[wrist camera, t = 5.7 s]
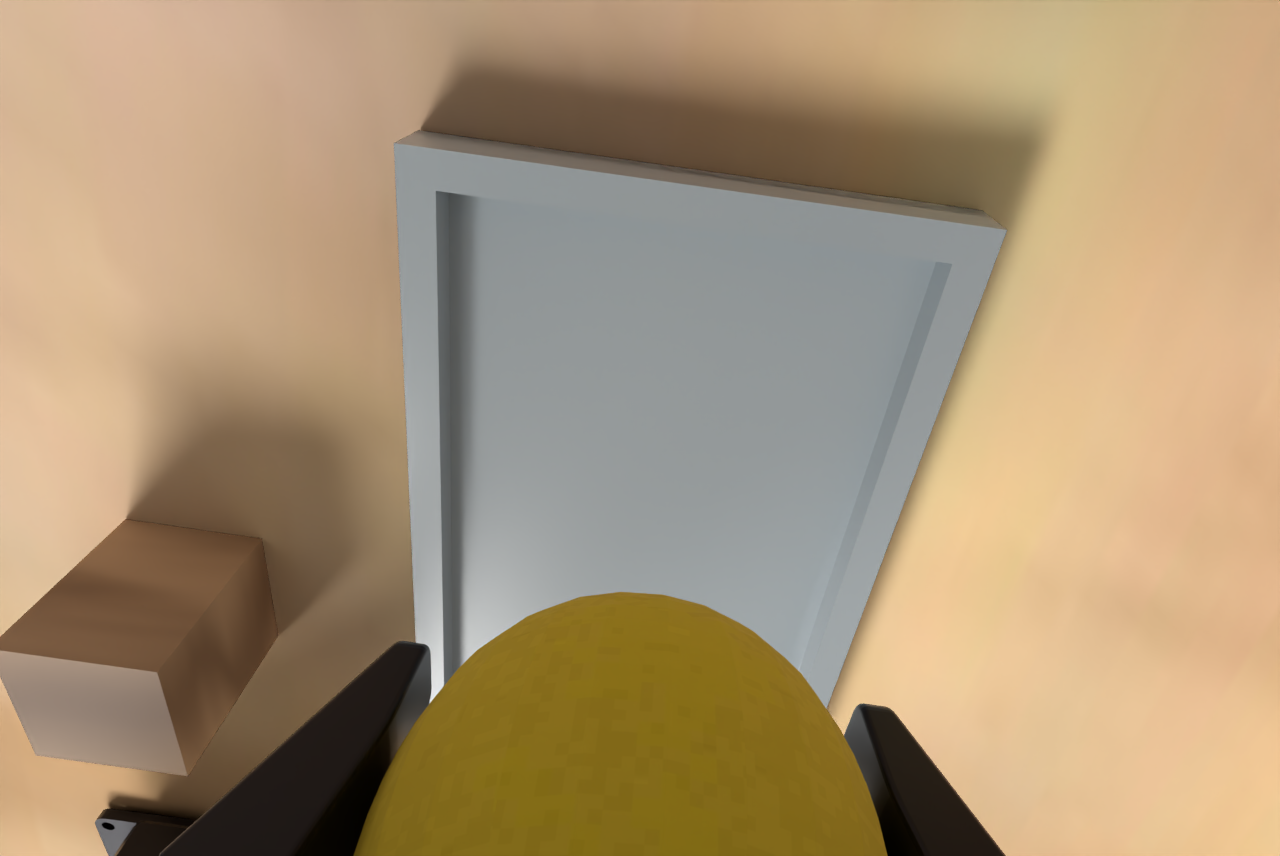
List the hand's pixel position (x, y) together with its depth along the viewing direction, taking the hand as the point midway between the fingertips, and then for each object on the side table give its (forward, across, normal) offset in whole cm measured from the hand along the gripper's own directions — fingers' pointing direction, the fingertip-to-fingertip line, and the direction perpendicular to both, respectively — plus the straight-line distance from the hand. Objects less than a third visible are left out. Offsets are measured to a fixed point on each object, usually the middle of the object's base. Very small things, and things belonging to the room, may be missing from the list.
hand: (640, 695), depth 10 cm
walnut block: (+10, +13, +9) cm, 19 cm away
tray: (+10, 0, +4) cm, 11 cm away
